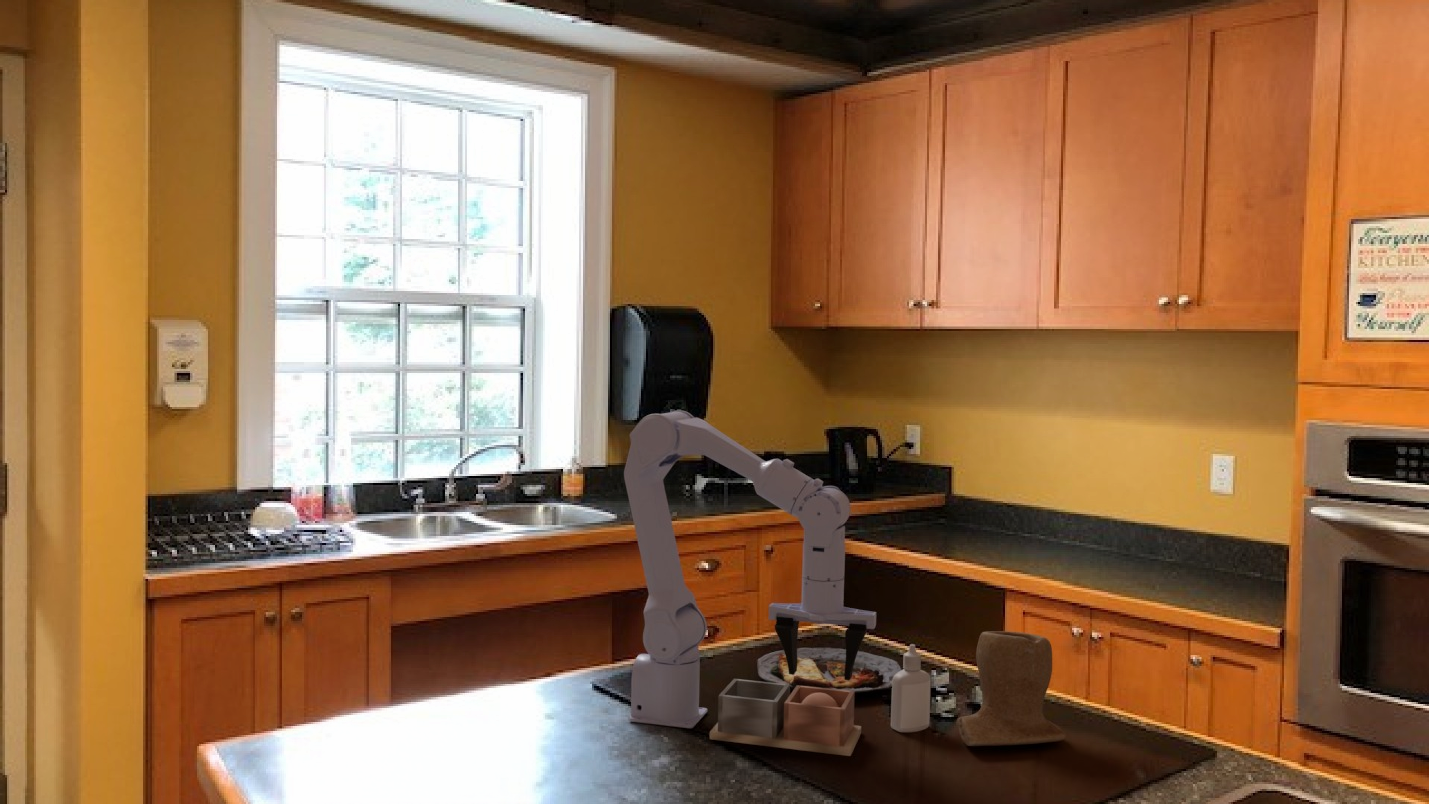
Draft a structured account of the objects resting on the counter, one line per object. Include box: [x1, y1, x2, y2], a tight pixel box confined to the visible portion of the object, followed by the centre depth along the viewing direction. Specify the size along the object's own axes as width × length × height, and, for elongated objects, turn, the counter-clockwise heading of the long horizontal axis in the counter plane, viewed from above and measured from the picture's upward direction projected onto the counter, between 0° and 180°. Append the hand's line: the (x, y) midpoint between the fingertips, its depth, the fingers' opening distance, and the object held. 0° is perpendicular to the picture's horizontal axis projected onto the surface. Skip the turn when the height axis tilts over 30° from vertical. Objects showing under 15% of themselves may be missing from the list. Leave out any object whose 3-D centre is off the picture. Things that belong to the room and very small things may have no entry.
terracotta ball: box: [802, 693, 838, 707], centre depth 157 cm, size 6×6×6 cm
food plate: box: [756, 647, 902, 694], centre depth 185 cm, size 25×23×4 cm
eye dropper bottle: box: [890, 643, 931, 733], centre depth 163 cm, size 4×6×12 cm
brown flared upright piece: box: [955, 630, 1066, 747], centre depth 159 cm, size 15×12×15 cm
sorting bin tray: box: [709, 678, 862, 757], centre depth 159 cm, size 19×9×6 cm, turn 74°
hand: (820, 675), depth 157 cm, fingers open, 7 cm apart
